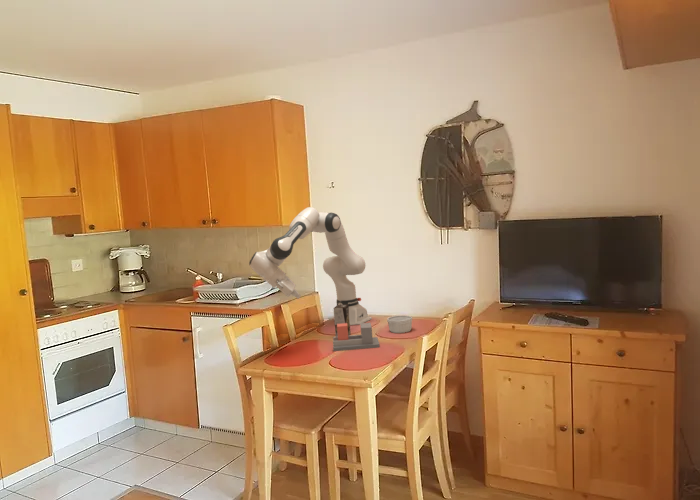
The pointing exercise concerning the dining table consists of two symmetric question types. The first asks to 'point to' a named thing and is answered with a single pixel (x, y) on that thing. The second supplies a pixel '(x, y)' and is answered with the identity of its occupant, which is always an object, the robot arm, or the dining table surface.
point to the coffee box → (341, 317)
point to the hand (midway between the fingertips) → (299, 297)
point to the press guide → (357, 340)
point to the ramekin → (400, 323)
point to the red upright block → (342, 331)
